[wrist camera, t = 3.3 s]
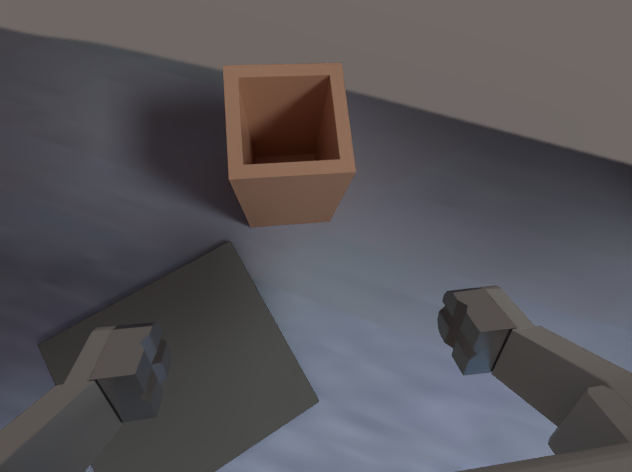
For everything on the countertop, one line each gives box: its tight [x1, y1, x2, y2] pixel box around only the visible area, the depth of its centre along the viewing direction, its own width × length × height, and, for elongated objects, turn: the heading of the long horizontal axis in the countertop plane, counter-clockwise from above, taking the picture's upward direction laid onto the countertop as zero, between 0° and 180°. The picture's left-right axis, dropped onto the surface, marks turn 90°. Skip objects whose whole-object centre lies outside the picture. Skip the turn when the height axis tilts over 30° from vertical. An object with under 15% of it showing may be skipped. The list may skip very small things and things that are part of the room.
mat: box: [38, 241, 319, 472], centre depth 19 cm, size 12×11×1 cm
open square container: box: [223, 63, 356, 227], centre depth 18 cm, size 5×5×8 cm
